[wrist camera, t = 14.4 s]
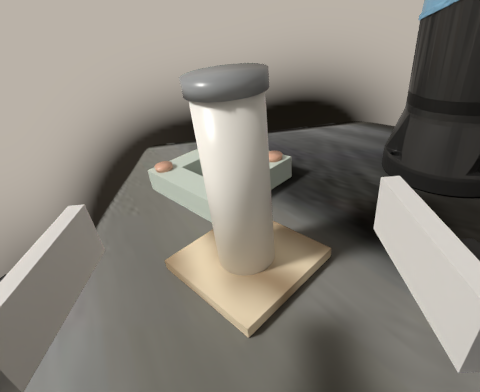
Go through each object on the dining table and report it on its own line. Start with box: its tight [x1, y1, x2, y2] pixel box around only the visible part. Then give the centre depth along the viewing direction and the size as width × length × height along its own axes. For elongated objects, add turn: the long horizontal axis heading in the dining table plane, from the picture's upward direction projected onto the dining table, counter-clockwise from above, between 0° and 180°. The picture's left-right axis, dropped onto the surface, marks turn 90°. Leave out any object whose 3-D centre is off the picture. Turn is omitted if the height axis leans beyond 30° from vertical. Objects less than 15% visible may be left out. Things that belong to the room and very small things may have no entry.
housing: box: [148, 149, 292, 222], centre depth 42 cm, size 14×14×4 cm
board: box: [165, 221, 331, 338], centre depth 28 cm, size 11×11×1 cm
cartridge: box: [179, 63, 275, 276], centre depth 24 cm, size 6×6×16 cm
